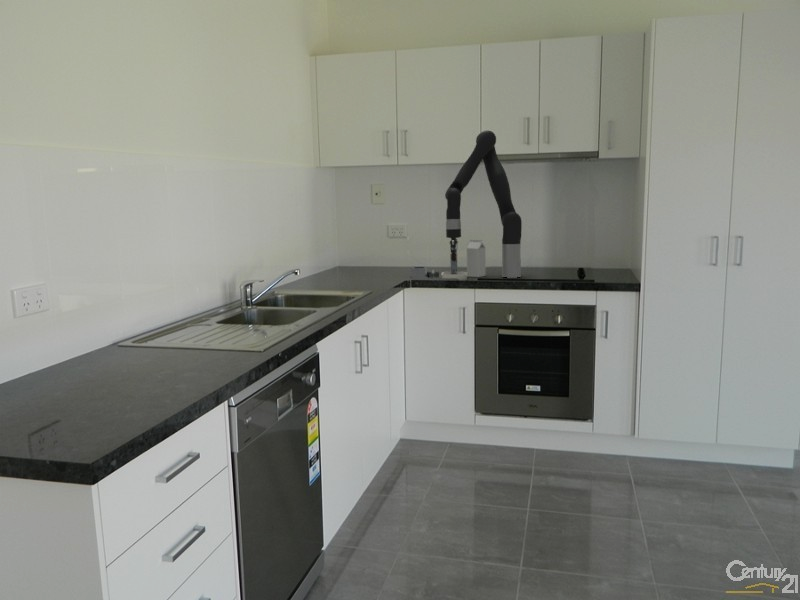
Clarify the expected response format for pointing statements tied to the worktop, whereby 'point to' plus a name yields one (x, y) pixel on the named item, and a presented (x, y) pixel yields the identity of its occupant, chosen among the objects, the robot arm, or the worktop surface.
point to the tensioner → (424, 273)
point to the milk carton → (475, 259)
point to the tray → (455, 275)
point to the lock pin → (453, 266)
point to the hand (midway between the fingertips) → (454, 260)
